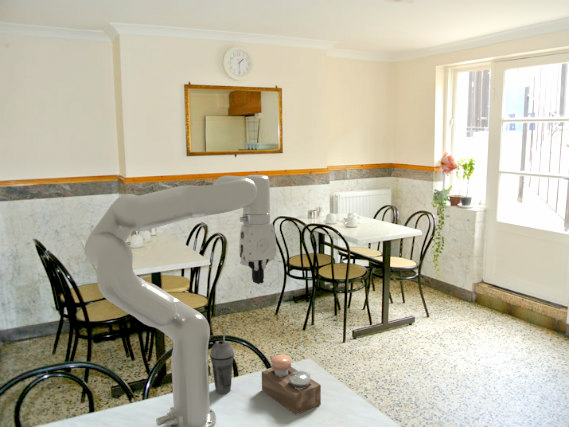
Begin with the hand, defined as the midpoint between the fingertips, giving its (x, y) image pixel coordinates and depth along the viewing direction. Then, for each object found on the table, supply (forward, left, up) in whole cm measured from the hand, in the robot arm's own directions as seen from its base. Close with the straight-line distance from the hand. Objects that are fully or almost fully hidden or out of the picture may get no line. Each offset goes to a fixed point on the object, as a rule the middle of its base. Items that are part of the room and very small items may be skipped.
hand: (258, 282), depth 141 cm
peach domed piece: (+7, -1, -32) cm, 33 cm away
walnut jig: (+7, -5, -35) cm, 36 cm away
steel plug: (+7, -10, -34) cm, 36 cm away
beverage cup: (-7, +10, -35) cm, 37 cm away
